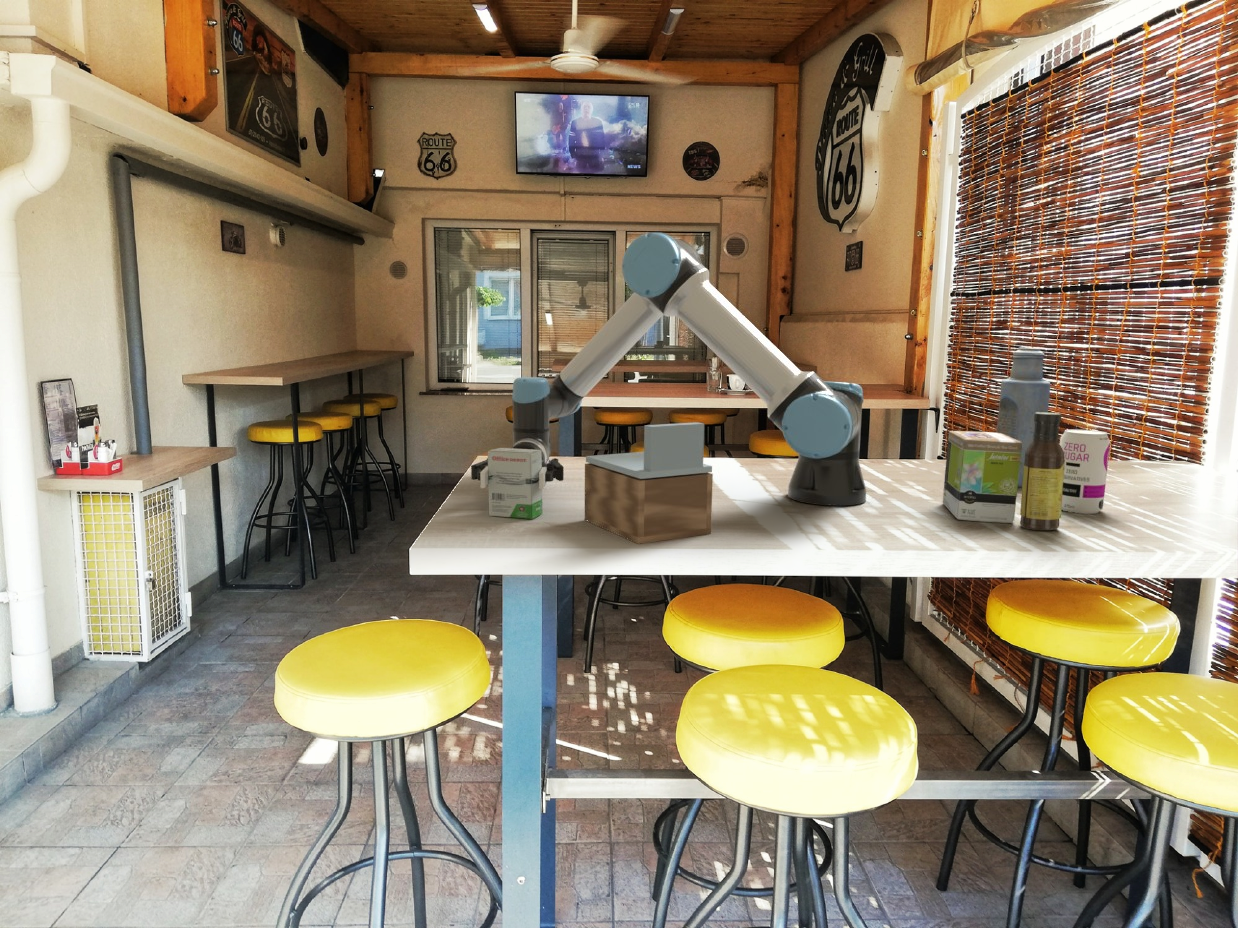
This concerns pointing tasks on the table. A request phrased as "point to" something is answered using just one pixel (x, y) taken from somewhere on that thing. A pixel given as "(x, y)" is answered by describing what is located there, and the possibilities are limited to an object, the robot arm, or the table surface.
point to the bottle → (1023, 399)
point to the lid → (661, 453)
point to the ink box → (514, 483)
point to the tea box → (982, 476)
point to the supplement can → (1084, 470)
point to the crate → (648, 504)
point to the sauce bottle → (1043, 475)
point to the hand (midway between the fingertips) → (512, 480)
